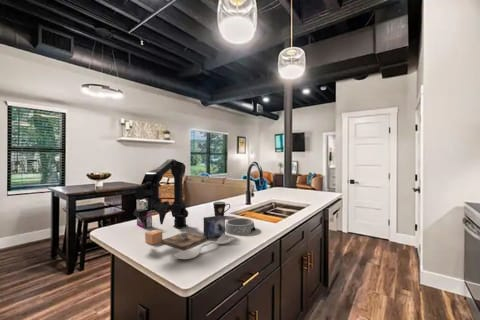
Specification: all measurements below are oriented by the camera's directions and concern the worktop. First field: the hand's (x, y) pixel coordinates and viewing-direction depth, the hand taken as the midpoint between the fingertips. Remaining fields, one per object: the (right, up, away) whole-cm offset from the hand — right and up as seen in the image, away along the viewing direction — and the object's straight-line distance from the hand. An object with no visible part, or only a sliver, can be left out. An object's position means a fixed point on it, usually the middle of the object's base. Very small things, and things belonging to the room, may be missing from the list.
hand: (153, 226), depth 122 cm
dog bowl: (+44, -7, +18) cm, 48 cm away
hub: (0, -8, 0) cm, 8 cm away
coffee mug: (+31, -7, +48) cm, 57 cm away
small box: (+31, -8, +7) cm, 32 cm away
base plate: (+16, -8, 0) cm, 18 cm away
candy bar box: (-16, -8, +28) cm, 33 cm away
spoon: (+29, -8, -11) cm, 32 cm away
